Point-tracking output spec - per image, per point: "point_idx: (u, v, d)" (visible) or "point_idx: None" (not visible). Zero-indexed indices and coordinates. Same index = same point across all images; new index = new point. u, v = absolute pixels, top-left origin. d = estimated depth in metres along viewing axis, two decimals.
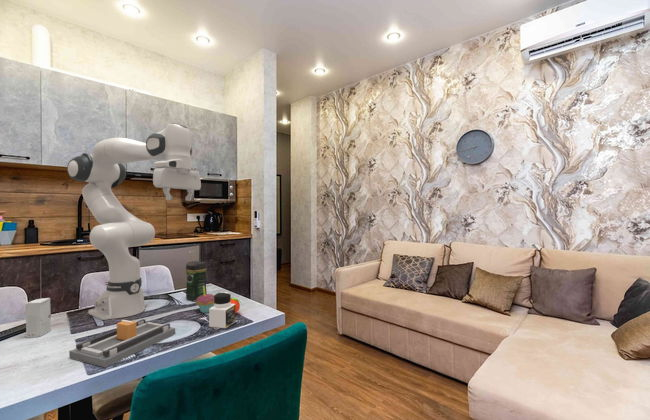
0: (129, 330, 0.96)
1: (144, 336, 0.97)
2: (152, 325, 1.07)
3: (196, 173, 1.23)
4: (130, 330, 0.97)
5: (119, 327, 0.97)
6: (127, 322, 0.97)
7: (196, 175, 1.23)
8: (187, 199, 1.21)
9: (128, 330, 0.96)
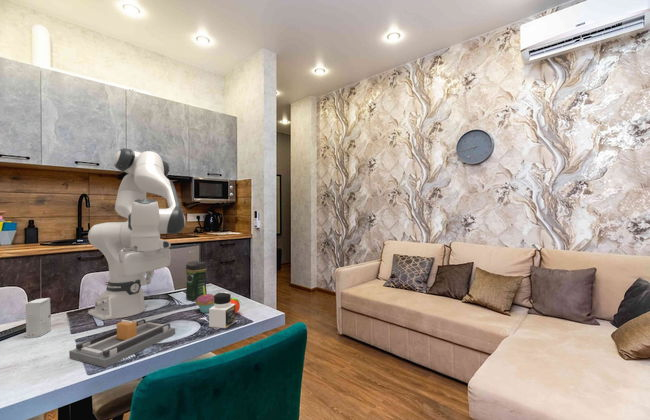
0: (129, 330, 0.96)
1: (144, 336, 0.97)
2: (152, 325, 1.07)
3: None
4: (130, 330, 0.97)
5: (119, 327, 0.97)
6: (127, 322, 0.97)
7: None
8: None
9: (128, 330, 0.96)
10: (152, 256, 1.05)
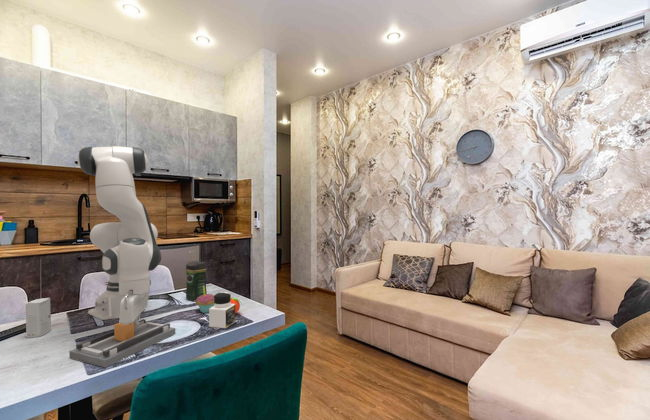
0: (127, 331, 0.96)
1: (144, 336, 0.97)
2: (152, 325, 1.07)
3: None
4: (127, 331, 0.96)
5: (116, 328, 0.96)
6: None
7: None
8: None
9: (125, 332, 0.95)
10: (141, 297, 1.02)
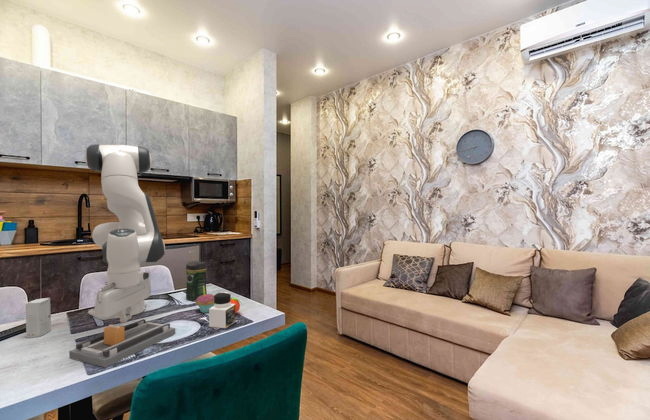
0: (117, 335, 0.93)
1: (144, 336, 0.97)
2: (152, 325, 1.07)
3: None
4: (117, 335, 0.93)
5: (106, 332, 0.93)
6: (115, 327, 0.94)
7: None
8: None
9: (115, 336, 0.92)
10: (132, 290, 0.98)
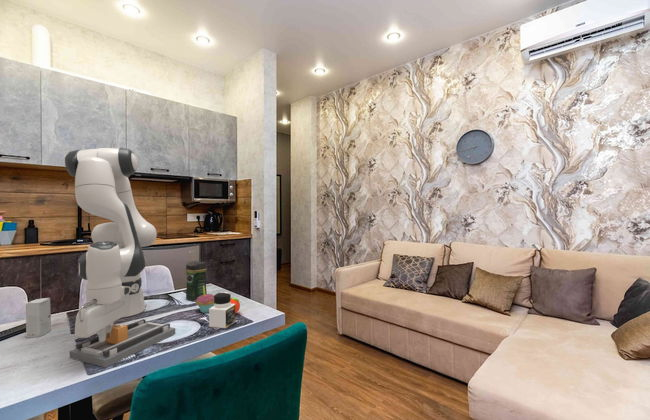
0: (120, 334, 0.94)
1: (144, 336, 0.97)
2: (152, 325, 1.07)
3: None
4: (121, 334, 0.94)
5: None
6: (118, 325, 0.95)
7: None
8: None
9: (118, 334, 0.93)
10: (112, 306, 0.93)
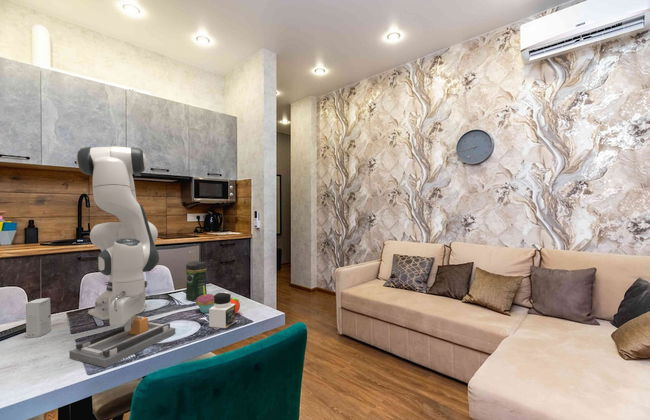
0: (141, 325, 1.00)
1: (144, 336, 0.97)
2: (152, 325, 1.07)
3: None
4: (142, 325, 1.00)
5: None
6: (139, 318, 1.01)
7: None
8: None
9: (140, 326, 1.00)
10: (135, 299, 1.00)
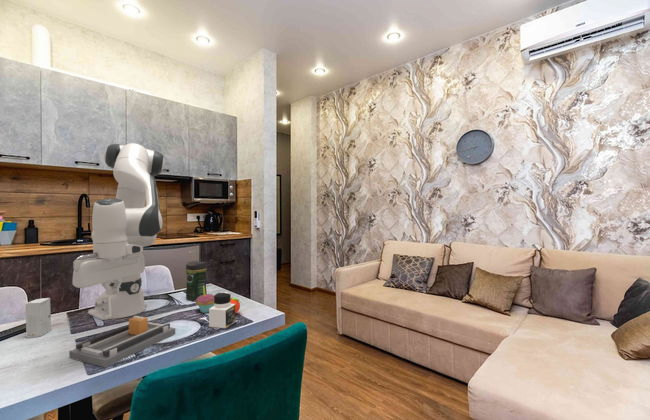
0: (141, 325, 1.00)
1: (144, 336, 0.97)
2: (152, 325, 1.07)
3: None
4: (141, 326, 1.00)
5: (131, 323, 1.01)
6: (139, 318, 1.01)
7: None
8: None
9: (140, 326, 1.00)
10: (119, 263, 0.94)
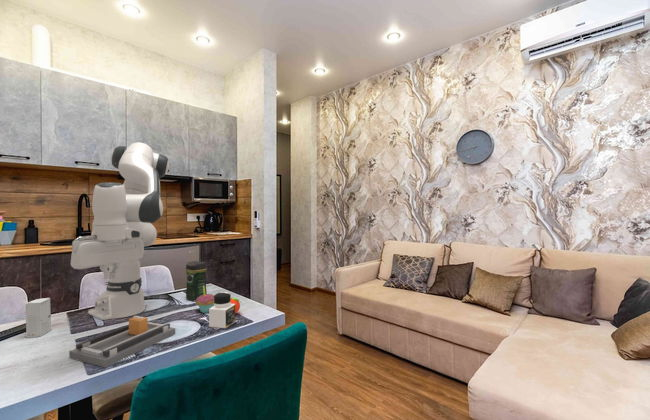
0: (141, 325, 1.00)
1: (144, 336, 0.97)
2: (152, 325, 1.07)
3: None
4: (141, 326, 1.00)
5: (131, 323, 1.01)
6: (139, 318, 1.01)
7: None
8: None
9: (140, 326, 1.00)
10: (118, 247, 0.94)
